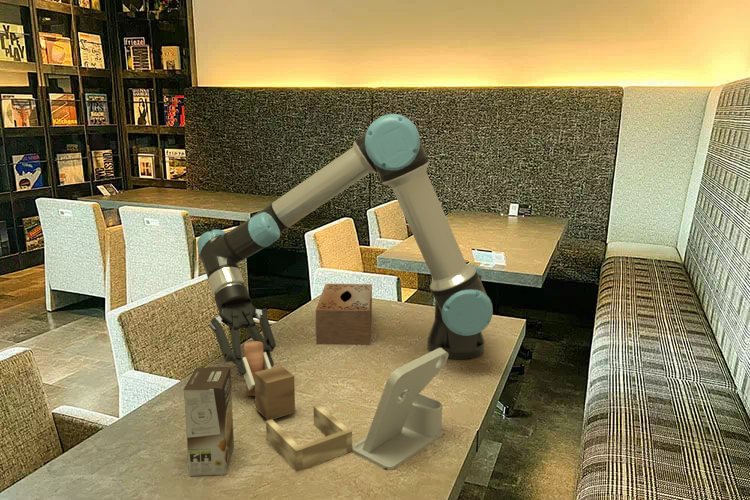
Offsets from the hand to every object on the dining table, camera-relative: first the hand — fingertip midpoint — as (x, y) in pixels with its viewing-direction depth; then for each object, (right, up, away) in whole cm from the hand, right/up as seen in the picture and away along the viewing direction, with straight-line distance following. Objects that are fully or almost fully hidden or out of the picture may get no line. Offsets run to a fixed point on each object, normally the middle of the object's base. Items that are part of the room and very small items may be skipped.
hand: (262, 384), depth 122 cm
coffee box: (-5, -9, -20) cm, 23 cm away
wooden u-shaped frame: (+11, -8, -15) cm, 20 cm away
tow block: (+1, -3, -1) cm, 4 cm away
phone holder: (+29, -8, -14) cm, 33 cm away
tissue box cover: (+16, +5, +46) cm, 49 cm away
